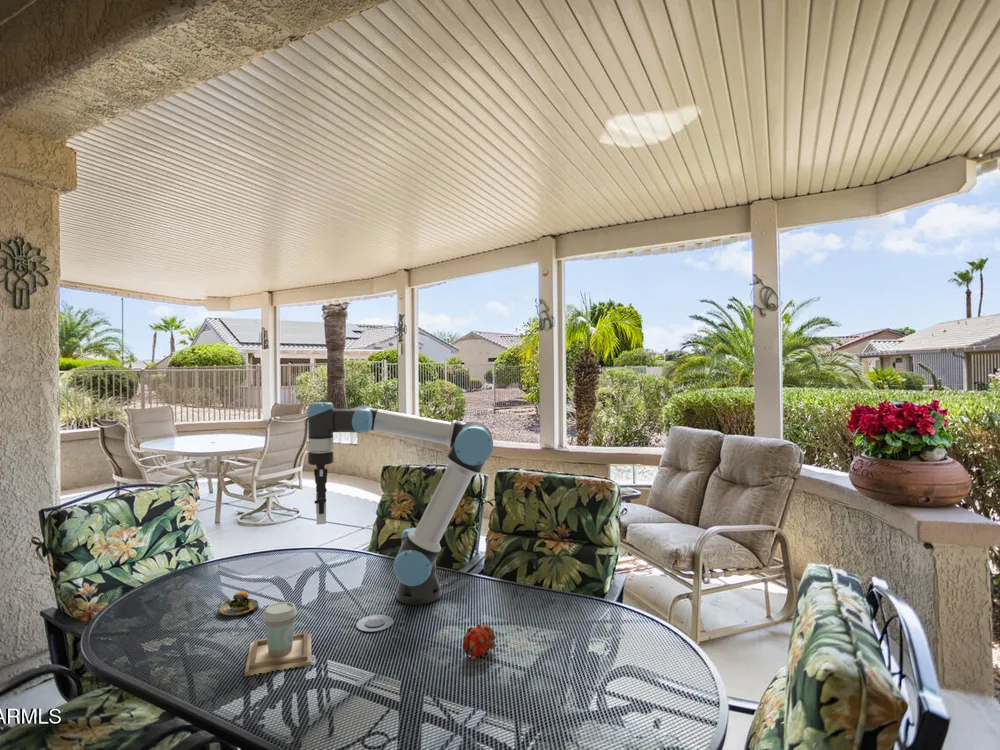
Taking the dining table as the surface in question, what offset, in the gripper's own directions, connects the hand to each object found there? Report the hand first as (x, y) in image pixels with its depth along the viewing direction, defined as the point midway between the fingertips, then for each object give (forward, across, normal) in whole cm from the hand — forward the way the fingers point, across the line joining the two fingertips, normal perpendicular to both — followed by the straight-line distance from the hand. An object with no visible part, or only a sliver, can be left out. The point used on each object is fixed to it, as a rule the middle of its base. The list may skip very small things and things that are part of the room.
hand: (320, 518), depth 172 cm
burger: (+31, -12, -25) cm, 42 cm away
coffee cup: (+30, +22, -11) cm, 39 cm away
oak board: (+31, +22, -11) cm, 39 cm away
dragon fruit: (+31, +40, +40) cm, 65 cm away
